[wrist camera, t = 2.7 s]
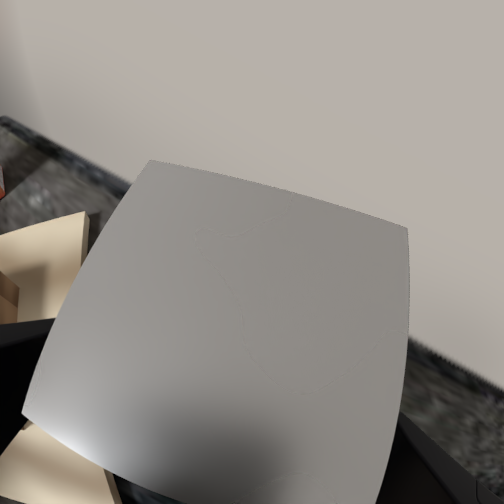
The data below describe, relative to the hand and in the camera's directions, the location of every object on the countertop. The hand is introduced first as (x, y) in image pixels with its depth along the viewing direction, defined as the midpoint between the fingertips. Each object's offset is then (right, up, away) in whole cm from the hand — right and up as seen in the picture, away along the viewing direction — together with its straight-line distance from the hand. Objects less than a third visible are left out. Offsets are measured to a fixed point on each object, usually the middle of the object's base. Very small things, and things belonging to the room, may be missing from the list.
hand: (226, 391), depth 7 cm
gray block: (-1, -4, +7) cm, 8 cm away
